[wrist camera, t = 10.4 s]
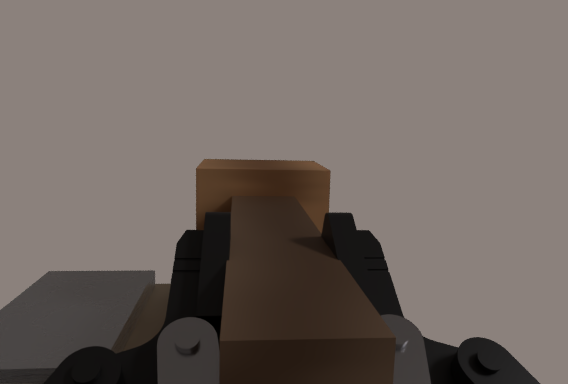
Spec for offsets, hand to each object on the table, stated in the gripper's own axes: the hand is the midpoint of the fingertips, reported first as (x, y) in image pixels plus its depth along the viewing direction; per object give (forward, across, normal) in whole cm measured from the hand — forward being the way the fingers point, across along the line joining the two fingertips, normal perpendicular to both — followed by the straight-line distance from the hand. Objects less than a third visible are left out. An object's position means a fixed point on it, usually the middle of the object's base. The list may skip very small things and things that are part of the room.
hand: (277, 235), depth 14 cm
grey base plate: (+4, -9, -10) cm, 14 cm away
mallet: (+1, 0, -4) cm, 4 cm away
